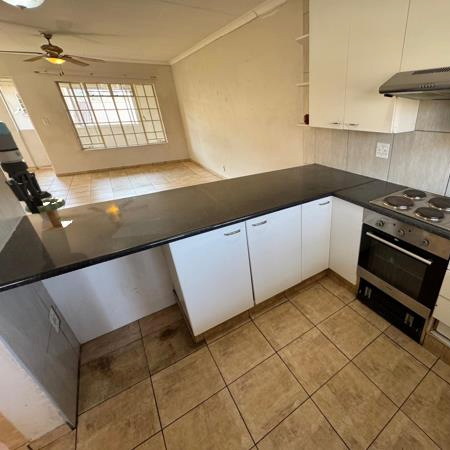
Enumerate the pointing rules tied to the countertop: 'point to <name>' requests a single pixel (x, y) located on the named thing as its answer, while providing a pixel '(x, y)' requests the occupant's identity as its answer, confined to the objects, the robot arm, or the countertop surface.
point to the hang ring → (53, 205)
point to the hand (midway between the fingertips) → (39, 211)
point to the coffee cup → (43, 215)
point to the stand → (54, 221)
